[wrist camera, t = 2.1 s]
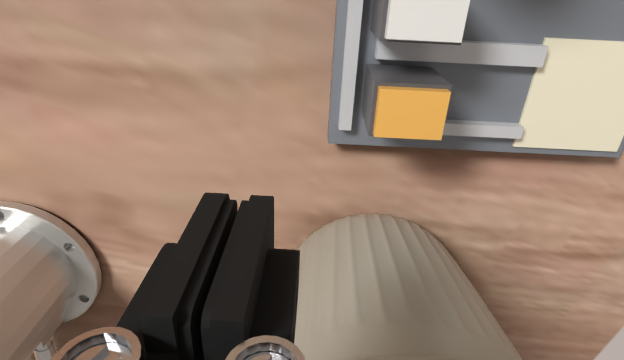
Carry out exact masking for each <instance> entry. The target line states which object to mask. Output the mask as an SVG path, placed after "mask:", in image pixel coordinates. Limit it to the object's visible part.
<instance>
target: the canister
mask: <svg viewBox="0 0 624 360" xmlns="http://www.w3.org/2000/svg"><path fill="white" fill-rule="evenodd" d="M296 250H300V268H299V289H298V304H297V316H296V328H295V340H294V345H296V346H297V347H298V348H299V349H300V351H301V352H302V353H303V355H304V356H305V360H523V359H522V358H521V356H520V355H519V353H518V352H517V350H516V349H515V347H514V346H513V344H512V343H511V341H510V340H509V339H508V337H507V336H506V334H505V333H504V331H503V330H502V328H501V327H500V325H499V324H498V322H497V320H496V319H495V317H494V316H493V314H492V313H491V311H490V310H489V308H488V307H487V305H486V304H485V303H484V301H483V300H482V298H481V297H480V295H479V294H478V292H477V291H476V289H475V288H474V286H473V285H472V284H471V282H470V281H469V279H468V278H467V277H466V275H465V274H464V273H463V271H462V270H461V268H460V267H459V266H458V264H457V263H456V261H455V260H454V259H453V257H452V256H451V255H450V254H449V252H448V251H447V250H446V248H445V247H444V246H443V245H442V244H441V243H440V242H439V241H438V240H437V239H436V238H434V237H433V236H432V235H431V234H430V233H429V232H428V231H427V230H425V229H422V228H420V227H419V226H418V225H417V224H415V223H412V222H408V221H406V220H405V219H403V218H396V217H393V216H391V215H381V214H378V213H374V214H364V213H362V214H360V215H354V216H352V215H349V216H348V217H346V218H342V219H336V220H335V221H334V222H332V223H329V224H325V225H324V226H323V227H322V228H321V229H319V230H316V231H314V232H313V233H312V235H311V236H310V237H308V238H306V239H305V240H304V241H303V242H302V244H301V246H300V247H299V248H297V249H296Z"/></svg>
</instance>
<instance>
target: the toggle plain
mask: <svg viewBox="0 0 624 360" xmlns="http://www.w3.org/2000/svg"><path fill="white" fill-rule="evenodd" d="M469 4H470V0H373V5H372V15H371V24H370V30H371V31H372V32H373V34H374V35H375V36H376V37H377V38H378V40H379V41H385V42H405V43H425V44H445V45H461V42H462V37H463V33H464V28H465V23H466V18H467V13H468V8H469Z"/></svg>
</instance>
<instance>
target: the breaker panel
mask: <svg viewBox="0 0 624 360" xmlns="http://www.w3.org/2000/svg"><path fill="white" fill-rule="evenodd" d="M372 5H373V0H337V5H336V20H335V35H334V50H333V65H332V80H331V95H330V109H329V124H328V143H332V144H352V145H372V146H393V147H413V148H433V149H454V150H474V151H494V152H515V153H535V154H555V155H576V156H596V157H616V158H619V157H620V155H621V153H622V151H623V148H624V0H470V4H469V8H468V13H467V18H466V23H465V28H464V33H463V37H462V42H461V45H445V44H425V43H405V42H385V41H379V40H378V38H377V37H376V36H375V35H374V34H373V32H372V31H371V30H370V24H371V15H372ZM366 64H382V65H402V66H422V67H432V68H433V69H434V70H435V71H436V72H438V73H439V74H440V75H441V76H442V77H443V78H444V79H446V80H447V81H448V82H449V83H450V84H451V85H452V90H451V95H450V100H449V105H448V110H447V115H446V119H445V124H444V129H443V134H442V139H441V140H425V139H405V138H385V137H374V136H368V132H367V129H366V125H365V122H364V118H363V115H362V111H361V110H362V100H363V91H364V81H365V72H366Z"/></svg>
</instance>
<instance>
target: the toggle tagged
mask: <svg viewBox="0 0 624 360" xmlns="http://www.w3.org/2000/svg"><path fill="white" fill-rule="evenodd" d="M451 90H452V85H451V84H450V83H449V82H448V81H447V80H446V79H444V78H443V77H442V76H441V75H440V74H439V73H438V72H436V71H435V70H434V69H433V68H432V67H422V66H402V65H382V64H366V72H365V81H364V91H363V100H362V110H361V111H362V115H363V118H364V122H365V125H366V129H367V132H368V136H374V137H385V138H405V139H425V140H441V139H442V134H443V129H444V124H445V119H446V115H447V110H448V105H449V100H450V95H451Z"/></svg>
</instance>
